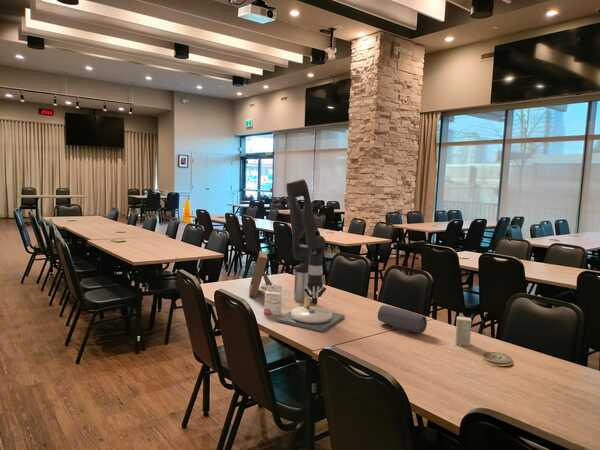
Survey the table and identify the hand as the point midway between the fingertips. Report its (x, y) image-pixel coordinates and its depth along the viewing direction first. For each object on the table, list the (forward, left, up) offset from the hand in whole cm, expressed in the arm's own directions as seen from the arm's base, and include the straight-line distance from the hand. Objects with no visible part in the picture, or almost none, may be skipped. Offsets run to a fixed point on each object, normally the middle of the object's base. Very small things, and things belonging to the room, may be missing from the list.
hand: (314, 304), depth 225 cm
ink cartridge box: (+13, -19, -5) cm, 23 cm away
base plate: (+9, +3, -5) cm, 11 cm away
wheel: (+9, +3, -3) cm, 11 cm away
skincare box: (-2, +75, -5) cm, 76 cm away
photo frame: (-18, -47, -5) cm, 50 cm away
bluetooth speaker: (-5, +46, -5) cm, 47 cm away
